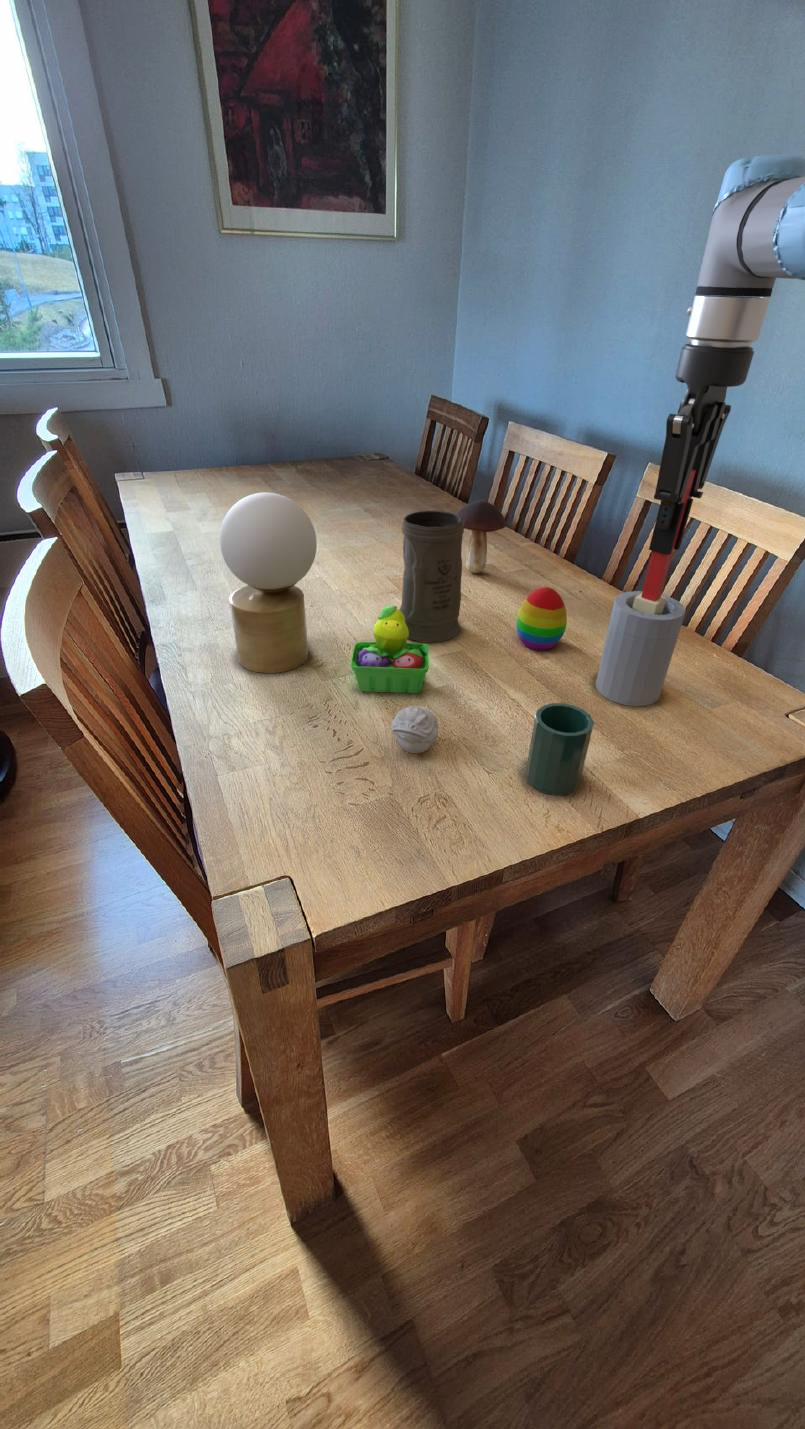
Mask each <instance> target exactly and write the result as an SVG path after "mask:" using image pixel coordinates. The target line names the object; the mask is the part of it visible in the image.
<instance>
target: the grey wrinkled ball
mask: <svg viewBox="0 0 805 1429" xmlns="http://www.w3.org/2000/svg"><path fill="white" fill-rule="evenodd" d="M390 727H391V728H390V729H391V733H392V734H393V735H394V737H395V741H396V742H397V743H398V745H399V746H400V747H401V748H402V749H403V750H405V751H406V752H408V753H412V754H420V753H423V752H425V751H427V750H428V749H430V747H431V746H432V745H433V744H434V742H435V741H436V739H437V738H438V737H439V722H438V719H437V716H435V714H434V713H433V712H432V711H431V710H430V709H428V708H427V707H424V706H419V705H418V706H415V705H409V706H408V707H404V708H403V709H400V710H399V711H398V712H397V714H396V715H395V717H394V718H393V720H392V723H391V726H390Z"/></svg>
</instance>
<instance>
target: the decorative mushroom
mask: <svg viewBox="0 0 805 1429" xmlns="http://www.w3.org/2000/svg"><path fill="white" fill-rule="evenodd" d="M455 514H456V515H458V516H460V517H461V518H462V520H463V527H464V530H465V529H466V530H470V534H469V539H468V543H467V547H466V548H467V549H466V555H465V566H466V569H467V571H468V572H469V573H472V574H480V573H481V572H483V571H484V570H485V569H486V568H485V567H486V565H487V554H488V539H487V538H488V537H487V536H488V535H487V533H491V532H497V531H500V530H502V529H505V528H506V527H507V522H506V519H505V517H504V515H503V514H502V512H501V511H500V510H499V509H498V507H496V506H495V505H494V504H493V503H491V502H488V501H487V500H481V499H479V500H478V499H477V500H474V501H472V502H469V503H467V504H465V505H464V506H462V507H461V508H460V509H458V510H457V511H456V512H455Z"/></svg>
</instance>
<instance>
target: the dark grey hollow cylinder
mask: <svg viewBox="0 0 805 1429" xmlns="http://www.w3.org/2000/svg"><path fill="white" fill-rule="evenodd" d="M464 532H465V528H464V527H463V520H462V518H461V517H460V516H458V515H456V513H453V512H448V511H442V510H420V511H414V512H411V513H408V514H407V513H406V515H405V516H404V517H403V519H402V526H401V533H402V534H403V539H402V557H403V566H404V567H403V568H404V570H403V573H402V577H403V578H402V593H401V596H402V597H401V604H400V607H399V610H400V611H401V612H402V613H403V614H404V617H405V623H406V625H407V627H408V631H409V636H408V639H410V640H413V641H416V642H420V643H421V642H422V643H439V642H440V643H441V642H443V641H447V640H450V639H452V638H453V637H455V636H456V635H457V634H458V633H459V630H460V625H459V624H460V623H459V617H460V609H461V601H462V592H461V591H462V577H463V576H462V575H463V559H462V558H463V557H462V549H463V548H462V547H463V546H462V545H463V537H464Z"/></svg>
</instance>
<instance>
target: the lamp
mask: <svg viewBox="0 0 805 1429" xmlns="http://www.w3.org/2000/svg"><path fill="white" fill-rule="evenodd" d="M317 544H318V543H317V534H316V530H315V528H314V524H313V522H312V521H311V518H310V517H309V515H308V514H307V512H306V511H305V510H304V509H303V507H301V506H300V505H299V504H298V503H297V502H295V501H294V500H293V499H291V498H289V497H287V496H285V495H282V494H279V493H275V492H257V493H253V494H249V495H247V496H245V497H243V498H241V499H240V500H237V502H236V503H234V504H233V505H232V506H231V507H230V509H228V511H227V513H226V515H225V516H224V518H223V520H222V523H221V527H220V531H219V547H220V552H221V555H222V558H223V560H224V562H225V565H226V566H227V567H228V569H229V570H230V572H231V573H232V574H233V575H234V576H235V577H236V578H237V580H239V581H240V582H242V583H243V584H245V586H242V587H240V588H238V589H236V590H235V591H233V592H232V594H230V596H229V606H230V613H231V619H232V620H231V621H232V627H233V634H234V640H235V647H236V652H237V653H236V654H237V660H238V662H239V664H240V665H241V666H242V667H243V668H245V669H246V670H249V671H251V672H255V673H261V674H277V673H284V672H288V671H292V670H293V669H296V668H298V667H300V666H301V665H303V664H304V663H305V662H306V660H307V659H308V657H309V644H308V643H309V642H308V632H307V617H306V606H305V594H304V592H303V591H302V589H301V588H300V587H298V586H296V585H297V584H298V583H299V582H300V581H301V580H303V579H304V577H305V576H307V574H308V573H309V572H310V570H311V568H312V566H313V564H314V562H315V558H316V554H317Z"/></svg>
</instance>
